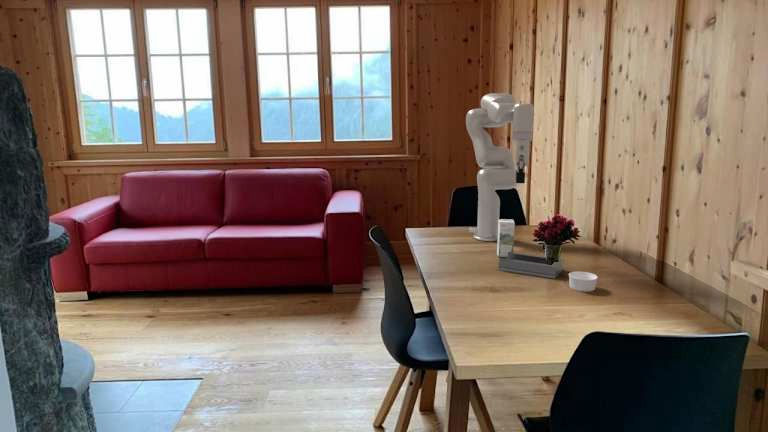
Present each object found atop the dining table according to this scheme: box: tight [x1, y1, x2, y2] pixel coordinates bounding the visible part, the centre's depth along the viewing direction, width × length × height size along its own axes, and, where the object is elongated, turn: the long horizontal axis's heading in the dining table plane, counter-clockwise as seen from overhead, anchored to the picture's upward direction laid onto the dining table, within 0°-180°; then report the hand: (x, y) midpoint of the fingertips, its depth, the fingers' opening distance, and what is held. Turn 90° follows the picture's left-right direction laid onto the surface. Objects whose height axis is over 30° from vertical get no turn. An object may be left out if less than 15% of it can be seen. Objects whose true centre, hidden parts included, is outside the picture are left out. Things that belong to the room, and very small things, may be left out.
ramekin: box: [568, 271, 598, 293], centre depth 177 cm, size 9×9×4 cm
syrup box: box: [496, 218, 516, 258], centre depth 214 cm, size 6×6×14 cm
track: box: [497, 251, 564, 279], centre depth 197 cm, size 20×13×4 cm, turn 60°
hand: (520, 181), depth 209 cm, fingers open, 9 cm apart
